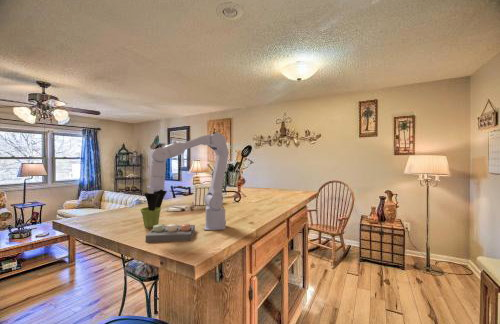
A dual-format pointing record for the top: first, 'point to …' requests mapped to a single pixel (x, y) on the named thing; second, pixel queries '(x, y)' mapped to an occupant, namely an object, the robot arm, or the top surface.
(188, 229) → the button terracotta
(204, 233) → the top surface
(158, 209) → the plant pot
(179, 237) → the button box
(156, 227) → the button sage
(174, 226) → the button ivory
